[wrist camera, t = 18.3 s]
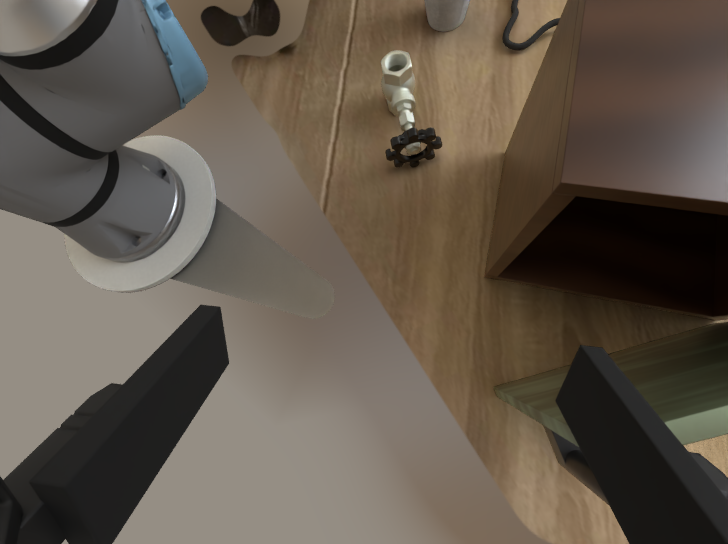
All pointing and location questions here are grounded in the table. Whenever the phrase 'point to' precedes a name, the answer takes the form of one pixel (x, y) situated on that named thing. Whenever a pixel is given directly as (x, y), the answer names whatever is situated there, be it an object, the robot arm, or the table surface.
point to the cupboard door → (642, 392)
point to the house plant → (446, 13)
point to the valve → (405, 111)
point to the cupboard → (623, 160)
